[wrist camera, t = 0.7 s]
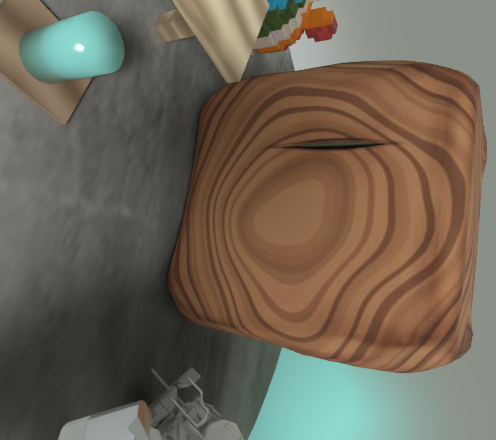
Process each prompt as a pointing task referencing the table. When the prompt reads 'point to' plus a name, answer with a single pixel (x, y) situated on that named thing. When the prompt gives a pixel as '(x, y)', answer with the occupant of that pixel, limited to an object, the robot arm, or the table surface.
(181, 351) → the table surface
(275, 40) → the toy
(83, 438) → the robot arm
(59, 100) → the tray
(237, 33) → the wooden step stool
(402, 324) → the brown wooden cube stool
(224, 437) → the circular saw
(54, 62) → the mint green cylinder
